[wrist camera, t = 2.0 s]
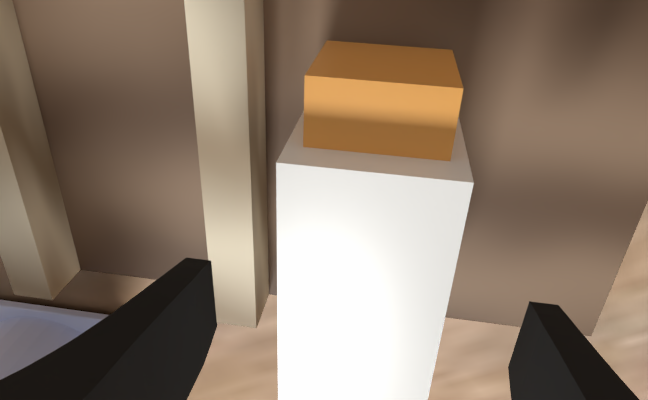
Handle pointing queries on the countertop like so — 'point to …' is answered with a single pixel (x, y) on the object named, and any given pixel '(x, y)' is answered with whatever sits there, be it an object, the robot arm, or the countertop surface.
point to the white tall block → (369, 223)
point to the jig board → (279, 122)
